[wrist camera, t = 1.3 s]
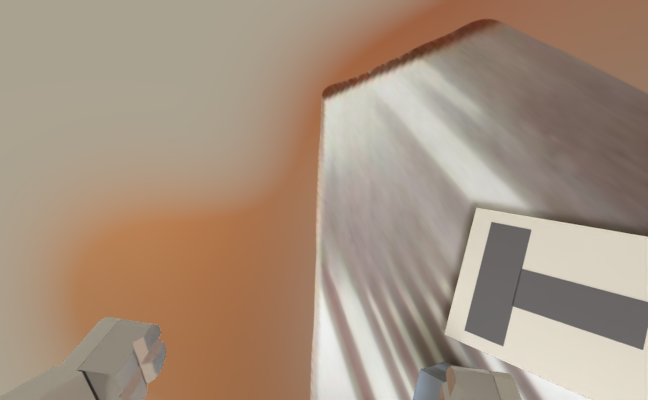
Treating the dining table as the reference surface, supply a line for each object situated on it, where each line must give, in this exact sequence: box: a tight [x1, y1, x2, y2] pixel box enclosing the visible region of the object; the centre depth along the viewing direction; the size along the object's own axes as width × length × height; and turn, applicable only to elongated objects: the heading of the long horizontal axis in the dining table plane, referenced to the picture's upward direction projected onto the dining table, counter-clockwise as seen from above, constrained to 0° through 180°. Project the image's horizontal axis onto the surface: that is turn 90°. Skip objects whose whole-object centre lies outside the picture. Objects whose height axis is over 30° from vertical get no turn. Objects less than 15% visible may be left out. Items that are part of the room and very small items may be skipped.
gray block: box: [413, 362, 455, 400], centre depth 40 cm, size 4×4×8 cm
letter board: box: [444, 208, 648, 400], centre depth 38 cm, size 20×17×1 cm
